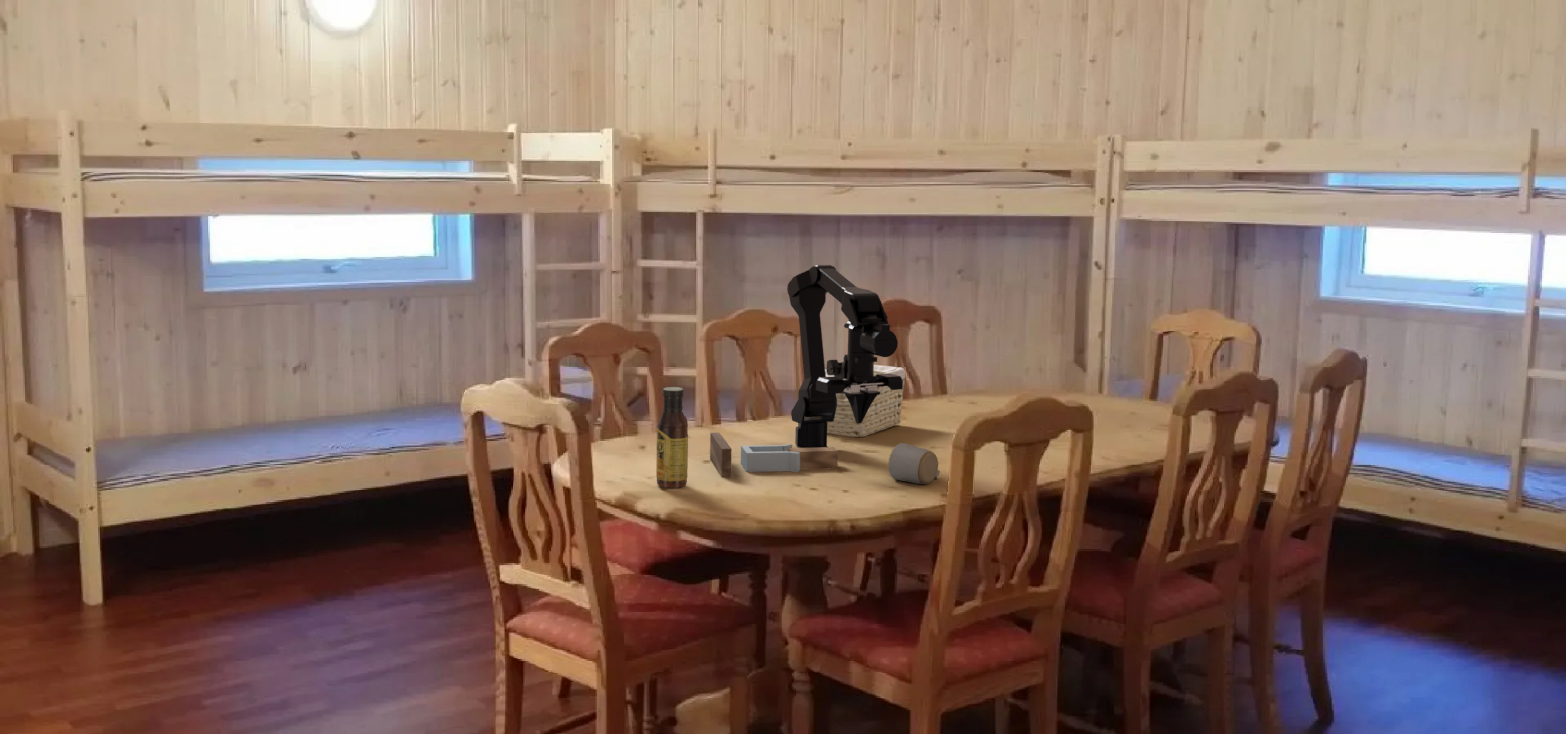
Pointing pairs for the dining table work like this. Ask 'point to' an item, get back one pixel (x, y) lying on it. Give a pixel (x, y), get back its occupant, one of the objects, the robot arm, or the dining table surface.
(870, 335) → the robot arm
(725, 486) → the dining table surface
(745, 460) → the cradle
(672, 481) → the sauce bottle
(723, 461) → the backstop
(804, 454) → the rectangular wooden block
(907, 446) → the ceramic mug
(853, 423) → the storage basket
